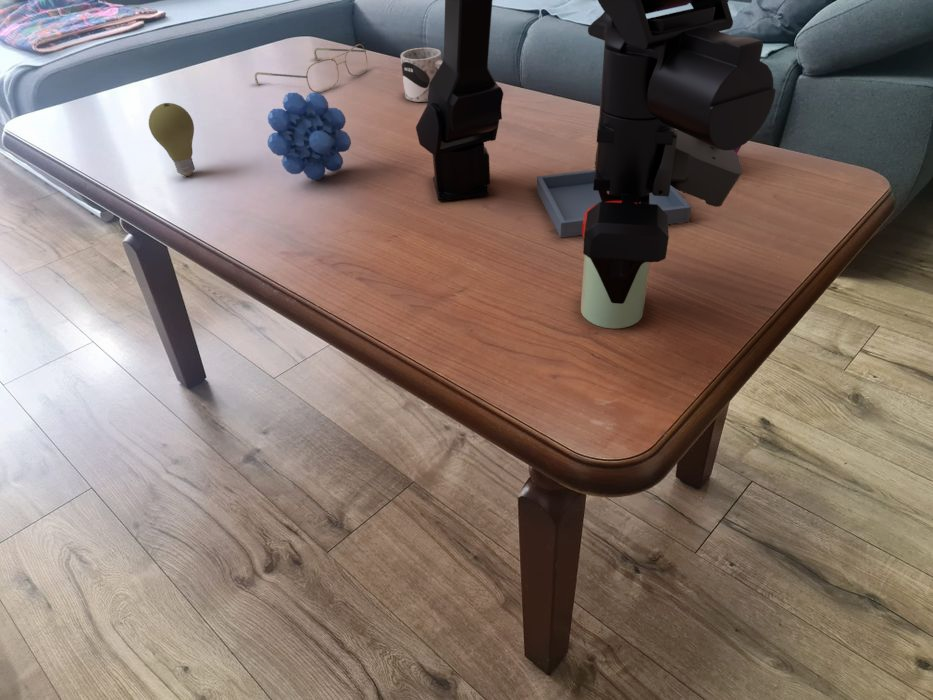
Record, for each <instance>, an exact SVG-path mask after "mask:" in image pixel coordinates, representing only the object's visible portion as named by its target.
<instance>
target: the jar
mask: <svg viewBox="0 0 933 700" xmlns="http://www.w3.org/2000/svg"><path fill="white" fill-rule="evenodd" d="M582 266H583V267H582V281H581V282H582V284H581V296H580V297H581V298H580V312H581V315H582V316H583V318H584V319H585V320H586V321H588V322H589V323H591V324H593V325H595V326H597V327H600V328H605V329H613V330H615V329H616V330H618V329H625V328H629V327H631V326H634V325H636V324H637V323H638V322H639V321H641V319H642V318H643V316H644V309H645V302H646V296H647V289H648V283H649V275H650V268H651V262H645V263H643V264H642V265H641V266H640V268H639V270H638V272H637V275H636V277H635V279H634V281H633V284H632V286H631V288H630V291H629V293H628V295H627V297H626V300H625V302H624V303H623V304H617V303H612V302H611V301H610V298H609V296H608V294H607V292H606V290H605V287H604V285H603V283H602V281H601V279H600V277H599V274H598V272H597V270H596V268H595V266H594V264H593V263H592V261H591V259H590V258H589V257H587V256H586V255H585V254H583V265H582Z"/></svg>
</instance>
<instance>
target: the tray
mask: <svg viewBox="0 0 933 700" xmlns="http://www.w3.org/2000/svg"><path fill="white" fill-rule="evenodd" d="M594 176H595V169H590V170H581V171H572V172H563V173H555V174H546V175H538V176H536V192H537V194H538V195H539V198H540V200H541V202H542V204H543V206H544V208H545V210H546V212H547V214H548V216H549V218H550V220H551V222H552V224H553V226H554V227H555V230H556V232H557V233H558V235H559V237H560V238H561V239H562V238H568V237H569V238H570V237H576V236H582V224H583V218H584V214H585V212H586V211H587V210H588V209H589V208H590V207H592V206H594V205H596V204H598V203H599V202H602V201H601V198H600V195H599V191H596V190H593V187H594ZM650 204H657V205H658V206H659V207H660V208H661V209H662V210H663V211H664V212H665V213H666V214H667V215H668V225H674V224H682V223H689V222H690V217H691V209H692V206H691V204H689V203H688V202H687V200H686V199H685V198H684V197H683V196H682V195H681V193H680V191H679V190H677V189H675V188H673V187H672V186H671V185H670V192H669V196H654V195H653V193H650Z"/></svg>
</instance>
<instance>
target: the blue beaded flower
mask: <svg viewBox="0 0 933 700" xmlns="http://www.w3.org/2000/svg"><path fill="white" fill-rule="evenodd" d="M282 105H283V108H273V109H271V110H270V111H269V113H268V116H267V123H268V125H269V126H270V127H271V129H272V130H273V131H275V132H272V133H271V134H270V135H269V136H268V138H267V147H268V148H269V149H270V151H271V152H272V154H274V155H276V156H277V157H279V156H280V157H282V158H281V165H282V167H283V168H284V169H285V171H286V172H287V173H289V174H291V175H299V174H301V173H303V174H305V176H306V177H307V178H308V179H310V180H312V181H319V180H322V178H324V176H325V173H326V170H328V171H330V172H337V171H339V170H340V169H342V167H343V164H344V158H343V156H342V155H341V153H344V152H347V151H349V150H350V147H351V145H352V139H351V137H350V135H349V134H348V132H347V131H345V130H344V127H345V125H346V122H347V121H346V116H345V114H344V112H343V111H342V110H341V109H339V108H337V107H330V106H329V102H328V100H327V98H326V96H324V95H323V94H322V93H316V92H310V93H308V94H307V95H306V98H304V96H303V95H302V94H300V93H298V92H288V93H287V94H285V95H284V97H283V99H282Z"/></svg>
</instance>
